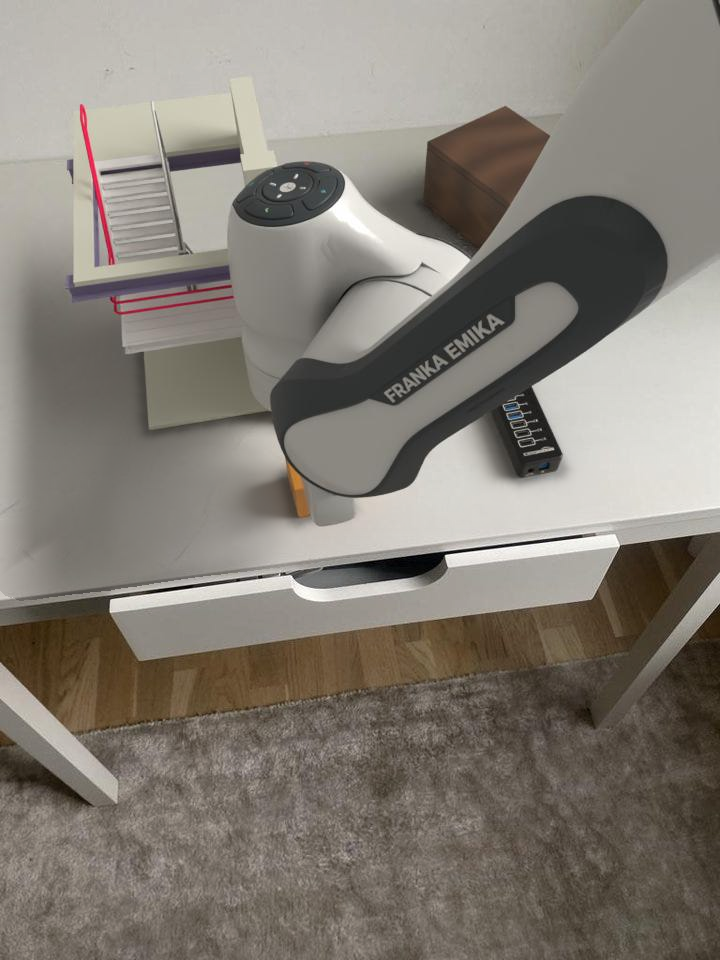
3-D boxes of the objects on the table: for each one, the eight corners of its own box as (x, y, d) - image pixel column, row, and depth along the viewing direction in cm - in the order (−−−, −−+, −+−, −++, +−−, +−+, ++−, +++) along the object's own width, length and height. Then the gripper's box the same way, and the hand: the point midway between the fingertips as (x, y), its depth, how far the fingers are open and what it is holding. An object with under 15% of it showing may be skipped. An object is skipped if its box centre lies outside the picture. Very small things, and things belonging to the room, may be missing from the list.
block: (336, 465, 77) (334, 436, 73) (348, 506, 74) (347, 478, 70) (287, 476, 76) (283, 447, 72) (298, 518, 74) (294, 490, 70)
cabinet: (573, 223, 97) (590, 162, 90) (498, 264, 93) (510, 203, 86) (495, 167, 104) (505, 105, 96) (422, 203, 100) (427, 141, 92)
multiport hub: (512, 364, 84) (515, 350, 82) (559, 470, 77) (564, 457, 75) (473, 371, 84) (476, 356, 82) (517, 478, 76) (521, 465, 74)
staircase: (121, 269, 93) (30, 7, 68) (269, 248, 95) (234, -14, 70) (129, 448, 78) (18, 199, 53) (304, 419, 80) (277, 166, 55)
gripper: (377, 460, 54) (374, 550, 66) (313, 269, 65) (320, 376, 77) (291, 479, 54) (302, 567, 65) (240, 282, 64) (258, 388, 76)
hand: (311, 462), depth 71 cm, fingers open, 8 cm apart
